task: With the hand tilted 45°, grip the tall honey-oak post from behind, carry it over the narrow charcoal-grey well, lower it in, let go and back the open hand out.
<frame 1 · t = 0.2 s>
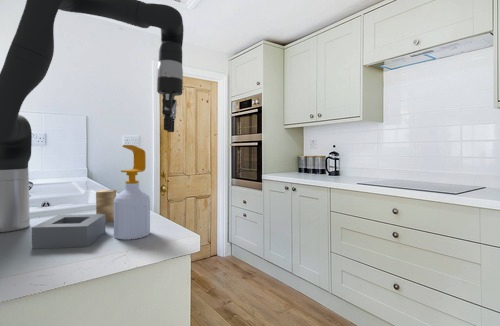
hand: (169, 131, 86), 29 cm above the worktop, tool pointing down, fingers open, 8 cm apart
oak post: (106, 220, 91), on the worktop
soap bottle: (132, 235, 76), on the worktop
well: (72, 239, 72), on the worktop
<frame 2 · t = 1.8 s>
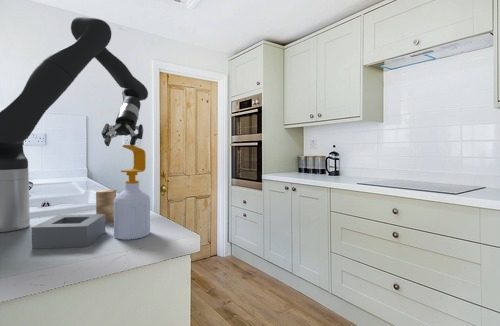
hand: (119, 144, 103), 25 cm above the worktop, tool tilted 45°, fingers open, 8 cm apart
nothing on the worktop moved.
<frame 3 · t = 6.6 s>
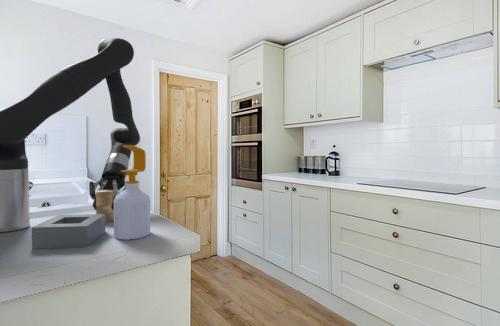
hand: (104, 208, 89), 4 cm above the worktop, tool tilted 45°, fingers closed on oak post, 4 cm apart
oak post: (106, 219, 91), on the worktop, touching gripper
everything else where it was.
when the fingers open (7 cm above the worktop, at t = 12.2 s): oak post drops 1 cm, resting on well.
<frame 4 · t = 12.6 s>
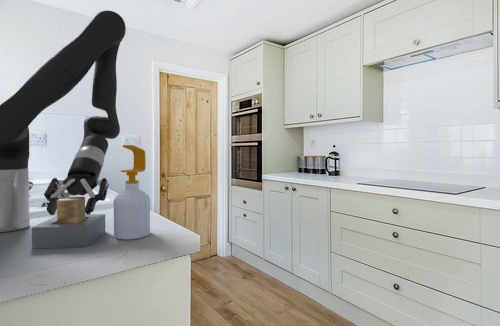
hand: (69, 213, 70), 7 cm above the worktop, tool tilted 45°, fingers open, 8 cm apart
oak post: (72, 235, 72), point 1 cm above the worktop, touching well
everything else where it was.
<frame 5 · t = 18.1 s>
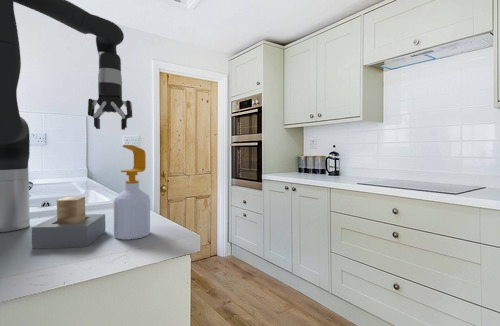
hand: (110, 129, 100), 30 cm above the worktop, tool pointing down, fingers open, 8 cm apart
nothing on the worktop moved.
at the end: oak post 0.1 cm off-centre on the well, point 1.0 cm above the well's base; oak post tilted 0°; the gripper is holding nothing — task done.
